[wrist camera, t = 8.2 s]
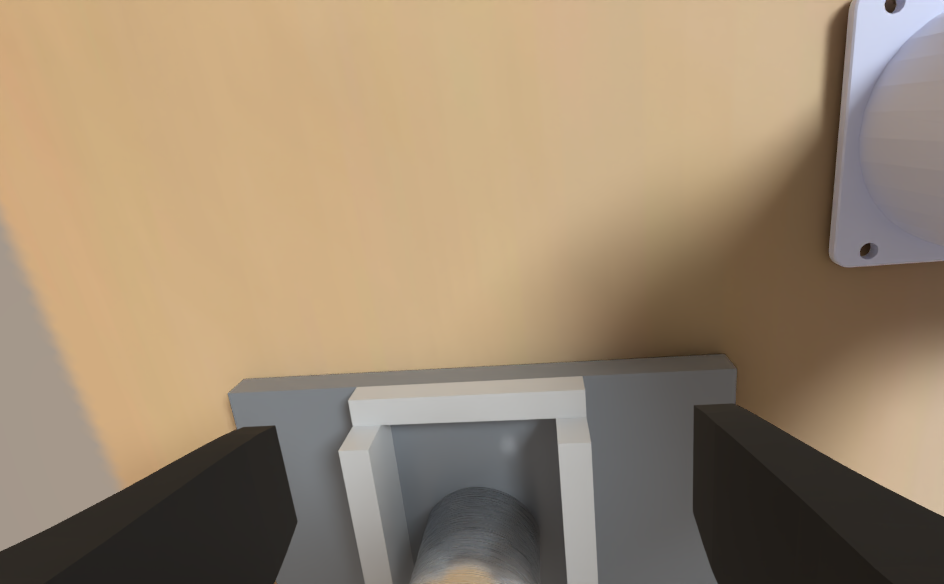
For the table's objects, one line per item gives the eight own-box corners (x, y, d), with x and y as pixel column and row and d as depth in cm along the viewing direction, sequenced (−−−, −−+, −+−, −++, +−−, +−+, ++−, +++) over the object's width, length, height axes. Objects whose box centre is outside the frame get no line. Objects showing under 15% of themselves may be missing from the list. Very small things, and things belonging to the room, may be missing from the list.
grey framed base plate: (724, 353, 19) (768, 406, 16) (716, 658, 23) (748, 755, 20) (243, 379, 21) (187, 429, 18) (311, 651, 25) (275, 736, 22)
